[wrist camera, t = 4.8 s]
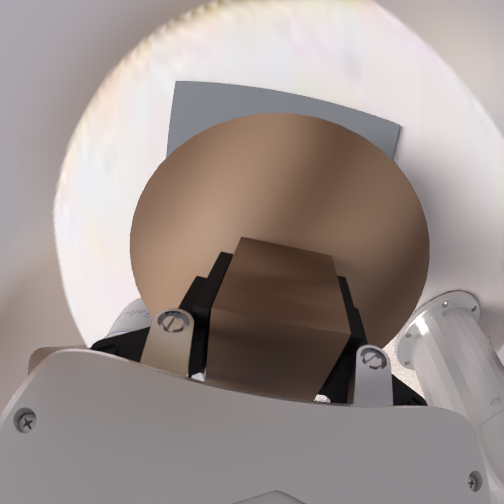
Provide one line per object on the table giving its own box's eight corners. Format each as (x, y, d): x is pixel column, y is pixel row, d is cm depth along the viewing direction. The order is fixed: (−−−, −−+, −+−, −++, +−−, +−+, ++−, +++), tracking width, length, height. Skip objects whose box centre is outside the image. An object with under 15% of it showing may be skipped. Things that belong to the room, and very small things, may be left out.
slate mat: (397, 124, 18) (400, 125, 18) (339, 304, 27) (340, 308, 26) (178, 81, 18) (175, 81, 18) (164, 271, 27) (162, 274, 26)
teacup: (158, 263, 26) (121, 313, 19) (238, 326, 29) (226, 385, 22) (110, 326, 32) (82, 369, 25) (174, 372, 35) (157, 418, 28)
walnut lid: (456, 167, 10) (542, 208, 4) (357, 380, 17) (367, 457, 11) (149, 98, 11) (53, 94, 5) (147, 339, 17) (108, 408, 12)
